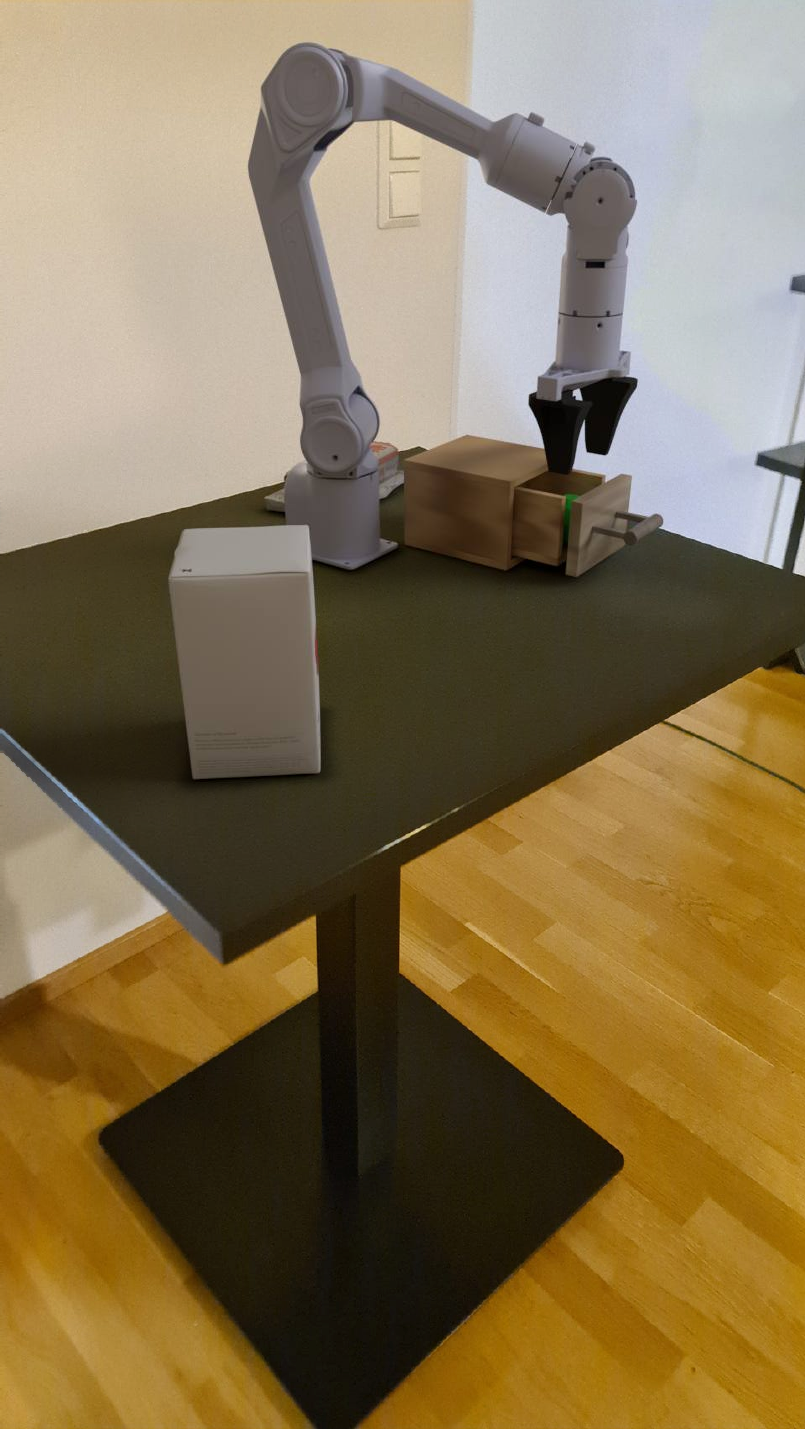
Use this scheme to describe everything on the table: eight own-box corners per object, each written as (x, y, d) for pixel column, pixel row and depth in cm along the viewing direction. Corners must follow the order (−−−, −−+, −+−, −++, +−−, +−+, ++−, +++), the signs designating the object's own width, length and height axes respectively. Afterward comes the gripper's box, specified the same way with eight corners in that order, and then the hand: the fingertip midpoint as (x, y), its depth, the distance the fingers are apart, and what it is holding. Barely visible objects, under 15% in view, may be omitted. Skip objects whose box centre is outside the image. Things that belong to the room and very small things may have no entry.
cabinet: (563, 537, 109) (569, 453, 105) (506, 571, 101) (510, 481, 97) (464, 514, 116) (466, 434, 111) (404, 544, 108) (403, 459, 103)
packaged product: (345, 432, 129) (414, 442, 124) (346, 470, 131) (414, 481, 127) (260, 470, 115) (335, 482, 111) (263, 511, 117) (337, 525, 113)
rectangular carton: (323, 776, 70) (312, 571, 62) (191, 783, 69) (163, 577, 62) (321, 710, 78) (311, 521, 70) (202, 715, 77) (179, 526, 70)
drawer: (667, 555, 102) (677, 483, 99) (621, 588, 95) (629, 513, 91) (527, 523, 111) (531, 456, 107) (475, 552, 103) (477, 481, 100)
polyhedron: (540, 534, 105) (543, 488, 102) (588, 534, 104) (592, 489, 102) (544, 552, 100) (547, 505, 98) (595, 552, 100) (599, 505, 98)
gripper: (593, 328, 84) (580, 489, 91) (666, 305, 94) (649, 451, 101) (519, 320, 88) (512, 475, 95) (597, 299, 98) (585, 440, 105)
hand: (578, 462), depth 98 cm, fingers open, 7 cm apart
